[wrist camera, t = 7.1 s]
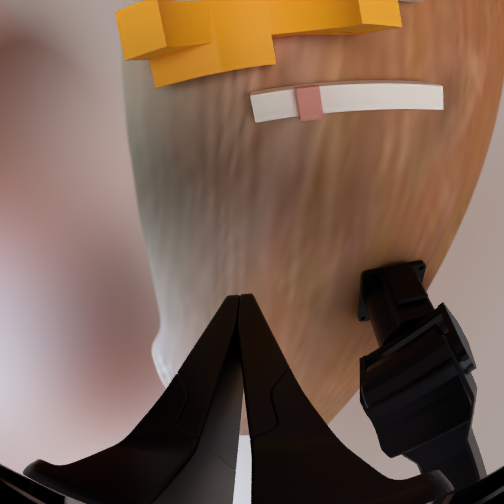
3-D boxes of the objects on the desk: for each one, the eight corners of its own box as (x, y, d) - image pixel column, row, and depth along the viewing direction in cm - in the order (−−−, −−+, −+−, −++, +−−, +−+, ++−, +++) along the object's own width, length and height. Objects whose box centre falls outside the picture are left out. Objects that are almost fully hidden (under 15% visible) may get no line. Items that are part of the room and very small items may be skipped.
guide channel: (425, 104, 16) (451, 114, 13) (255, 117, 17) (256, 128, 14) (408, -18, 10) (433, -27, 7) (225, -16, 12) (219, -32, 9)
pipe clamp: (171, 83, 16) (133, 95, 11) (158, 25, 13) (115, 12, 8) (359, 59, 15) (406, 62, 9) (350, 0, 12) (393, -22, 7)
